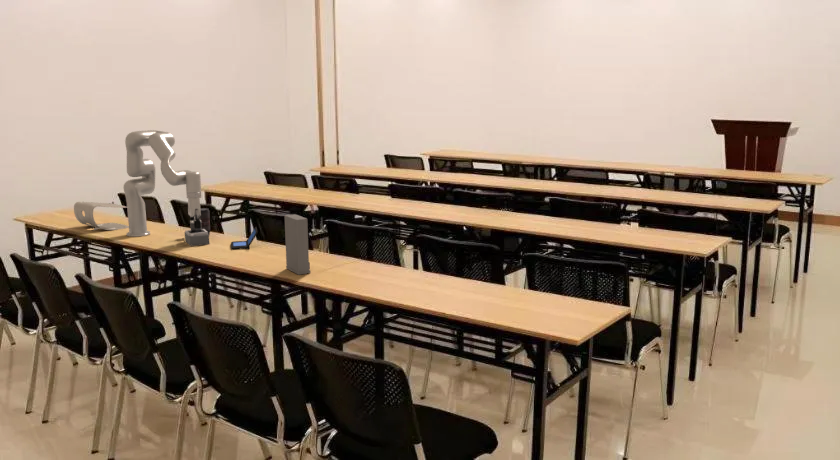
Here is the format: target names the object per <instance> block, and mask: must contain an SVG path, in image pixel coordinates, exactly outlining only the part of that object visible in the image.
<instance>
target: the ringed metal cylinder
mask: <svg viewBox="0 0 840 460" xmlns="http://www.w3.org/2000/svg"><path fill="white" fill-rule="evenodd" d="M194 221H195V220H191V219H190V220H189V224H190V225H189V226H190V230H191V233H199V232H202V227H201V228H196V229H195V228H194ZM200 222H201V220H200Z"/></svg>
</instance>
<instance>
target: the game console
mask: <svg viewBox="0 0 840 460" xmlns="http://www.w3.org/2000/svg"><path fill="white" fill-rule="evenodd" d="M257 235H258V228H257V226H255V227H254V228H253V230H252V232H251V233H250V235H249V236H248V239H246V240H239V241H238V240H237V241H231V242H230V245H231V246H230V249H231V250H233V251H235V250H236V251H237V250H249V249H250V248H251V244H252V242H253V241H254V240H255V238H256V236H257Z"/></svg>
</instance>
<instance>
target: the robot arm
mask: <svg viewBox="0 0 840 460" xmlns="http://www.w3.org/2000/svg"><path fill="white" fill-rule="evenodd" d="M124 142H125V148H126V150H125V151H126V173H127V175H128V176H129V177H132V178H133V179H128V180H126V181H124V184H123V192H124V195H125V201H126V207H127V210H126V211H127V221H128V226H129V228H128V232H126V236H127V237H144V236H148V235H150V234H151V231H149V230H148V226H147V224H148V223H147V214H146V203H145V200H144V198H142V196H145V195H150V194H153V193H154V191H155V188H156V166H155V163H154V161H152V160H151V159H150V158H144V151H143V150H142V147H150V148H151V149H152V150H153V152H154V153H155V155H156V156H157V157H158V159H159V160H160V171H161V175H162V177H163V179H165V181H166V182H167V183H168V184H169V185H171V186H172V187H178V186H182V185H184V186H185V189H186V190H185V193H186V198H187V212H188V213H187V214H188V216H189V217H190V219H189V220H190V221H191V220H195V221H194V228H195V229H196V228H201V222H200V216H201V209H202V208H201V198H202V182H201V181H202V180H201V173H200V172H199V171H191V170H188V169H183V170H177V171H175V170H173V168H172V167H171V165H170V163H171V162H172V161H173V160H174V159H175V157H176V153H175V151H174V149H173V147H174V146H175V144H176V143H175V142H176V140H175V137H174V135H173V134H172V133H170V132H168V131H163V130H162V131H161V130H154V129H152V130H151V129H150V130H136V131H132V132H129V133H127V135H126V137H125V140H124Z"/></svg>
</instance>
